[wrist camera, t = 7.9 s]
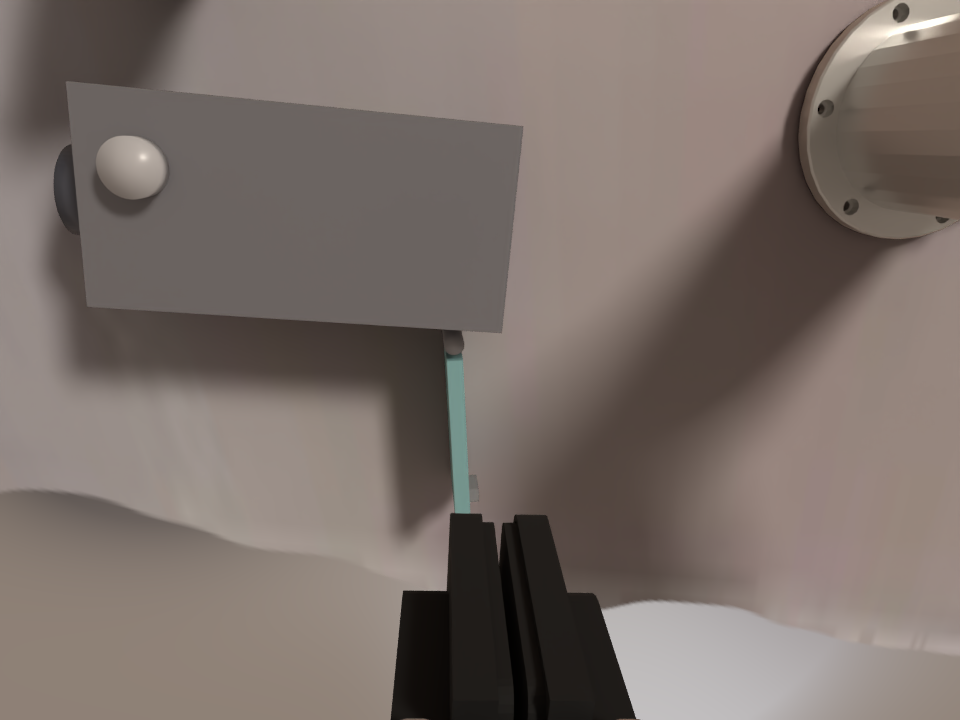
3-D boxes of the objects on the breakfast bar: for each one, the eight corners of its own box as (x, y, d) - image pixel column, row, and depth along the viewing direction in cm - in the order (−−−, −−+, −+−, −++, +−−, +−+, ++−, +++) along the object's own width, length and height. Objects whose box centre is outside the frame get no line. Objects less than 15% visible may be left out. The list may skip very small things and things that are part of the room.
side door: (440, 311, 37) (443, 336, 32) (466, 309, 37) (473, 334, 32) (449, 475, 40) (453, 520, 35) (474, 473, 40) (481, 518, 36)
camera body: (502, 129, 34) (527, 125, 27) (485, 307, 37) (503, 349, 30) (103, 89, 32) (6, 73, 24) (118, 282, 35) (35, 321, 27)
